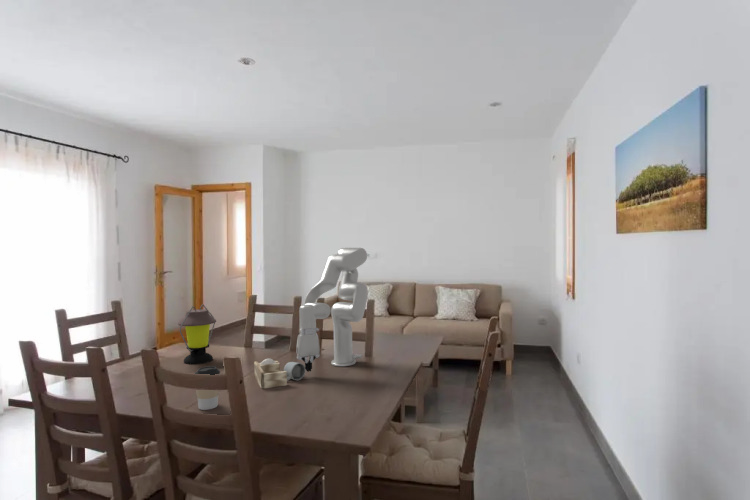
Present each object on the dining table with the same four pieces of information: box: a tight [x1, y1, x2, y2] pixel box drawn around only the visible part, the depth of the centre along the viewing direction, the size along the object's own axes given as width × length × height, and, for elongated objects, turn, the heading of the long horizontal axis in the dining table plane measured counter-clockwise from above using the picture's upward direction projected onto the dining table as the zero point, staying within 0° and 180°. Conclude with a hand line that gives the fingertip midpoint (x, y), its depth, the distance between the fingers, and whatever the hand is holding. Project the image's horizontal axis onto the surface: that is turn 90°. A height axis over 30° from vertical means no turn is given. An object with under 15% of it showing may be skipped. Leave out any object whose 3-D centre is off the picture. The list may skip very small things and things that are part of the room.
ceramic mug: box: [283, 361, 306, 382], centre depth 203 cm, size 11×8×8 cm
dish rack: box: [253, 360, 288, 390], centre depth 201 cm, size 11×20×7 cm, turn 23°
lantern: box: [177, 304, 217, 365], centre depth 239 cm, size 25×19×30 cm
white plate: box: [260, 358, 276, 365], centre depth 208 cm, size 8×1×8 cm, turn 114°
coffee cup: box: [194, 365, 221, 411], centre depth 170 cm, size 9×9×15 cm
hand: (308, 370), depth 206 cm, fingers closed
